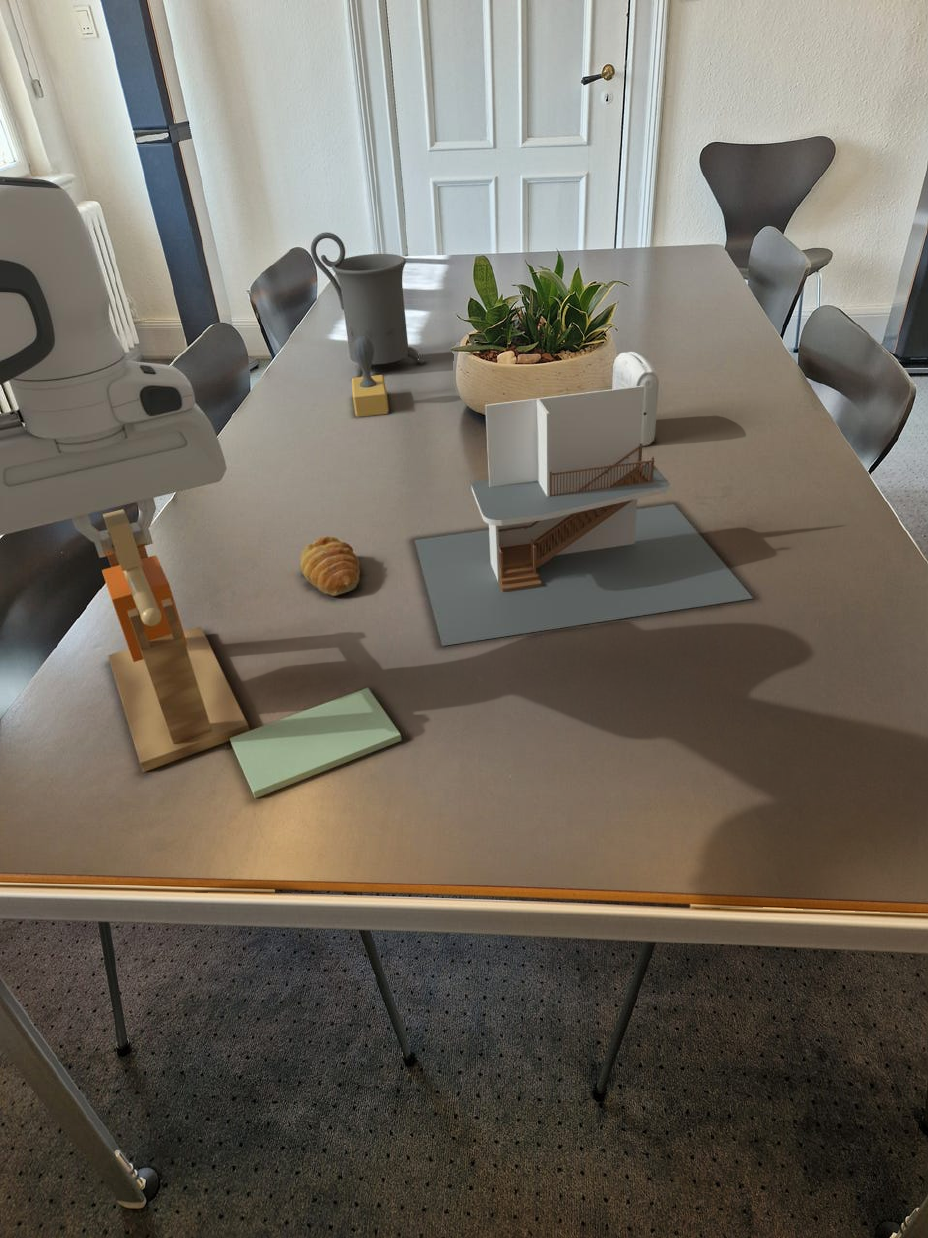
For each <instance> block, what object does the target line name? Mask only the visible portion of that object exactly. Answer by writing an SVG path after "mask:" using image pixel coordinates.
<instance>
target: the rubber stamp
mask: <svg viewBox="0 0 928 1238" xmlns="http://www.w3.org/2000/svg"><path fill="white" fill-rule="evenodd" d="M353 350H354V355H355V357H356V359H357V361H358V363H359V365H360V367H361V369H362V372H363V374H362V376H361V377H356V376H355V377H356V378H355V377H352V379H351V391H352V401H353V407H354V415H355V417H357V418H363V417H370V416H380V415H381V416H382V415H388V413H389V400H388V393H387V387H386V381H385V376H384V375H382V374H376V375H371V369H372V365H371V364H372V360H373V356H374V346H373V344H372V342H371V341H370V339H368V338H367V337H364V336H362V337H359V338H357V340H356V341H355V343H354V346H353Z"/></svg>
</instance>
